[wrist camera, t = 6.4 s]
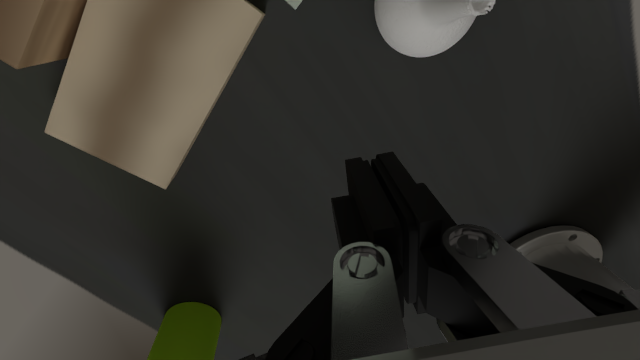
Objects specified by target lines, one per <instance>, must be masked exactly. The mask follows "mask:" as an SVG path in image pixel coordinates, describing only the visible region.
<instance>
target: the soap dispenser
mask: <svg viewBox="0 0 640 360" xmlns="http://www.w3.org/2000/svg"><path fill="white" fill-rule="evenodd" d="M220 327H221V316H220V314H219V313H218V312H217V311H216V310H215V309H214V308H212V307H211V306H209V305H206V304H203V303H198V302H184V303H180V304H177V305H174V306H173V307H171V308H170V309H169V310H168V311H167V312H166V314H165V316H164V319H163V321H162V323H161V326H160V328H159V331H158V333H157V336H156V338H155V341H154V343H153V346H152V348H151V351H150V353H149V356H148V359H147V360H214V355H215V351H216V346H217V341H218V336H219V332H220Z"/></svg>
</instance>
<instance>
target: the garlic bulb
mask: <svg viewBox="0 0 640 360" xmlns="http://www.w3.org/2000/svg"><path fill="white" fill-rule="evenodd" d="M494 3H495V0H375V5H374V9H375V18H376V23H377V26H378V28H379V31H380V33H381V35H382V37H383V38H384V40H385V41H386V42H387V43H388V44H389V45H390V46H391V47H392V48H393V49H395V50H396V51H398V52H400V53H402V54H405V55H408V56H412V57H429V56H433V55H436V54H439V53H441V52H443V51H445V50H447V49H448V48H450V47H451V46H453V45H454V44H455V43H456V42H458V41H459V40H460V39H461V38H462V37H463V36H464V34H465V33H466V32H467V31H468V29H469V28H470V26H471V25H472V23H473V21H474V19H475V17H476V16H478V15H482V14H484V15H485V13H487V12H485V10H488V11H491V9H492V8H493V5H494ZM489 5H491V7H490V8H489Z"/></svg>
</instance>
